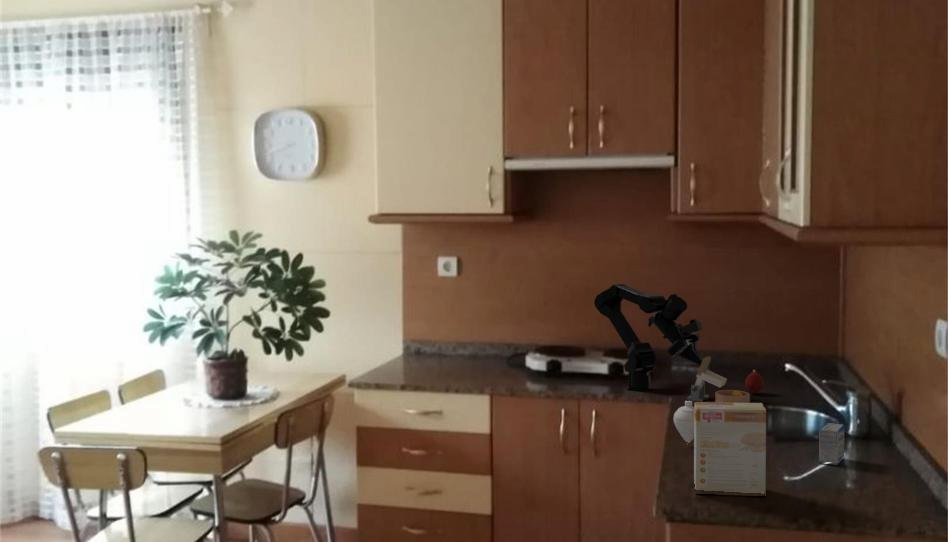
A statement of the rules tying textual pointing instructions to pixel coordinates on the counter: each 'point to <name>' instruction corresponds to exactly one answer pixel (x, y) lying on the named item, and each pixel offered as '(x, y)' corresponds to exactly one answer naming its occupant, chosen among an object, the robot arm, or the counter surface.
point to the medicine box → (831, 443)
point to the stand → (697, 393)
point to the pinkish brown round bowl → (731, 397)
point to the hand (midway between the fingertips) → (702, 364)
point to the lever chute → (708, 375)
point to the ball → (736, 393)
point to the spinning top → (685, 421)
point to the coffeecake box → (730, 447)
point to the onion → (754, 382)
